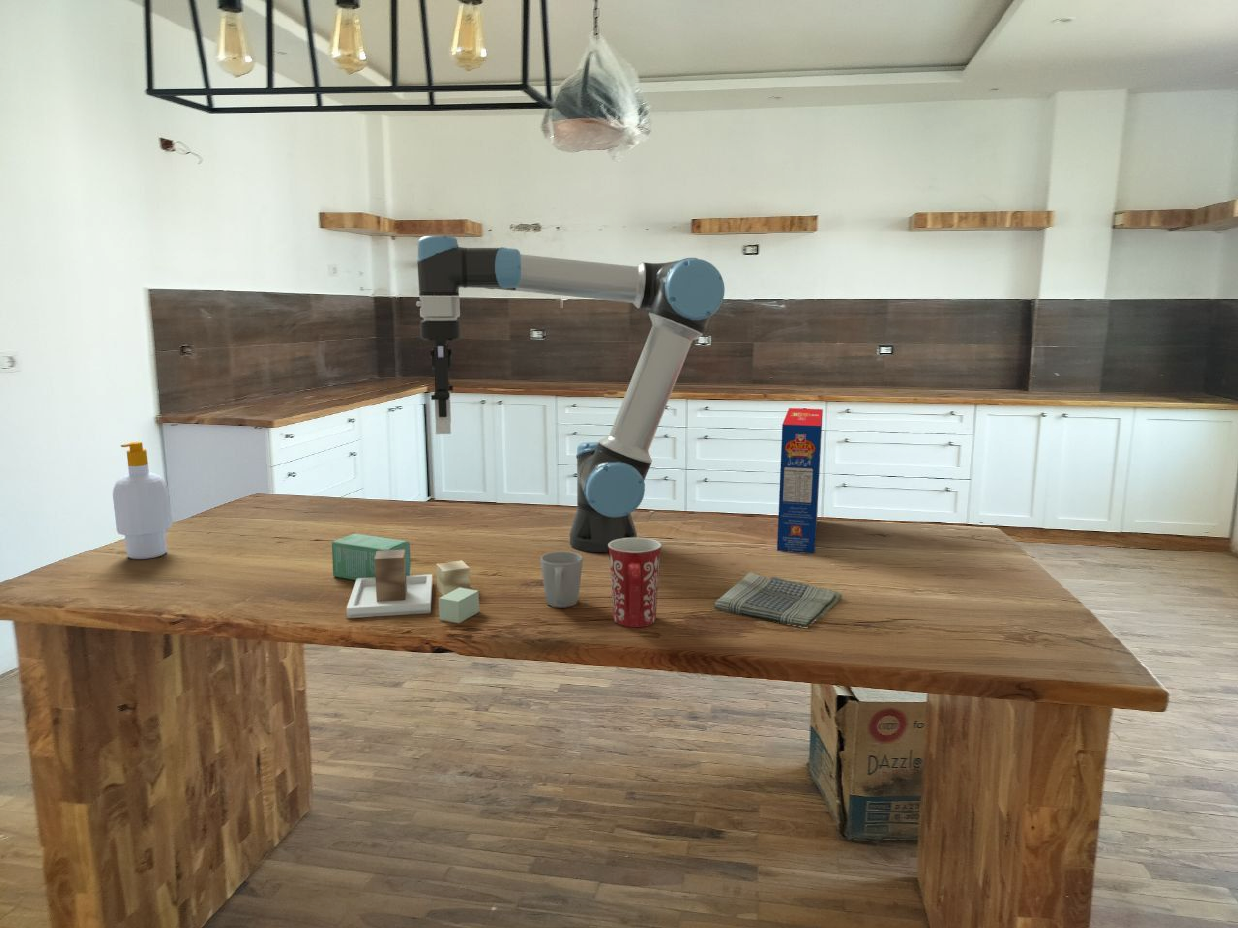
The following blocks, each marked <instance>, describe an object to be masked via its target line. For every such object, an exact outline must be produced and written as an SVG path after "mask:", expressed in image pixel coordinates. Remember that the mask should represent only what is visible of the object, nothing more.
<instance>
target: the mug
mask: <svg viewBox="0 0 1238 928" xmlns="http://www.w3.org/2000/svg"><path fill="white" fill-rule="evenodd" d="M662 547H663V546H662V544H661V542H660V541H658V540H655V539H651V538H645V537H637V538H622V539H617V540H614V541H611V542H610V543H609V544H608V548H609V552H608V553H609V564H610V565H609V568H610V580H611V581H610V582H611V584H610V585H611V597H612V616H613V621H614V623H616V624H618V625H619V626H623V627H627V628H640V627H648V626H650V625H653V624H654V622H656V617H657V616H656V615H657V603H658V591H659V589H658V588H659V587H658V586H659V585H658V584H659V575H660V574H659V573H660V572H659V571H660V562H661V561H660V558H661V557H660V556H661V549H662Z"/></svg>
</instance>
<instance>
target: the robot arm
mask: <svg viewBox="0 0 1238 928" xmlns="http://www.w3.org/2000/svg"><path fill="white" fill-rule="evenodd" d="M416 262H417V275H418V276H417V278H418V279H417V280H418V281H417V282H418V292H419V293H418V295H419V300H420V301H419V300H418V301H416V303H415V306H417V307H420V308H419V316H420V317H421V318H423V320H420V322H419V328H420V329H419V330H420V338H421V340H423V341H434V346H433V348H432V349H430V360H431V368H432V371H433V372H434V394H431V397H430V398H431V401H434V412H435V415H434V416H435V434H436V435H451V434H452V432H451V431H452V430H451V424H452V418H451V417H452V416H451V391H454V386H453V385H450V379H449V375H450V374H449V371H451V366H452V365H451V362H452V361H451V360H452V349H451V348H449V344H448V341H458V340H459V339H461V321H459V320H458V318H460V317H461V309H460V306H461V305H460V302H461V301H460V292H459V291H460V288H463V289H466V288H467V289H468V288H473V289H474V288H476V289H478V288H481V289H482V288H483V289H488V290H503V291H514V292H515V291H516V292H525V293H535V294H545V295H555V296H562V297H563V296H564V297H572V298H573V297H574V298H584V299H593V300H594V299H595V300H602V301H603V300H604V301H611V302H621V303H631V304H633V305H634V307H636V308H637V309H641V310H642V309H643V310H650V311H649V312H648V317H649V318H650V321H651V324H652V326H651V328H650V331H649V333H648V336H647V338H646V342H645V344H644V346H643V349H642V351H641V354H640V357H639V358H638V361H637V364H636V366H635V368H634V372H633V374H632V375H631V376H632V377H631V379H630V381H629V384H628V387H627V390H626V392H625V394H624V397H623V399H622V402H621V405H620V407H619V410H618V412H617V414H616V417H615V419H614V422H613V425H612V428H611V430H610V433H609V435H608V436H605V437H604V438H601V439H600V440H599V441H592V442H591V441H589V442H581V443H580V444H578V445H577V449H576V456H575V457H576V463H577V464H576V472H577V473H576V481H577V484H576V485H577V487H576V488H577V489H576V495H577V496H576V497H577V498H576V500H577V503H576V504H577V505H576V507H577V509H576V513H575V517H574V518H573V522H572V525H571V529H570V531H569V546H571V547H572V548H574V549H577V550H580V551H585V552H589V553H590V552H591V553H610V552H609V548H608V544H609V543H610V542H611V541H614V540H617V539H622V538H638V533H637V530H636V526H635V522H634V520H633V516H632V513H633V512H634V511H636V509H638V507H640V505H641V503H642V502H643V500H644V497H645V491H646V485H645V484H646V483H645V481H646V477H647V475H648V472H649V469H650V467H651V465H652V463H653V459H652V457H651V455H650V452H649V451H650V448H651V445H652V442H653V440H654V437H655V435H656V433H657V429H658V428H659V425H660V422H661V420H662V418H663V416H664V412H665V409H666V408H667V404H668V402H669V401H670V398H671V395H672V393H673V391H674V388H675V385H676V383H677V379H678V377H679V375H680V373H681V370H682V368H683V365H684V363H685V360H686V358H687V355H688V352H689V350H690V347H691V346H692V342H693V341H695V340H696V339H699V338H700V337H703V335H704V332H705V331H706V328H707V325H708V323H709V322H710V321H709V320H710V318H711V316H713V315H714V314H715V313H716V312H717V311H718V310H719V308H720V307H721V305H722V303H723V301H724V298H725V289H726V287H725V282H724V279H723V276H722V275H721V272H720V271H719V269H717V267H716V266H715V265H714V264H712V263H710V262H709V261H707V260H704V259H700V258H697V257H685V258H682V259H680V260H675V261H668V262H660V263H657V262H656V263H653V262H645V261H644V262H643V261H642V262H640V263H639V264H637V266H633V265H627V264H626V265H625V264H615V263H605V262H596V261H595V262H594V261H587V260H578V259H567V258H557V257H551V256H550V257H549V256H539V255H532V254H531V255H530V254H522V253H521V252H520V250H519V249H517V248H512V247H510V248H507V247H502V246H501V247H462V246H459V244H458V239H457V238H456V237H455V236H449V235H448V236H447V235H446V236H445V235H424V236H421V237H420V238H419V239H418V241H417V261H416Z"/></svg>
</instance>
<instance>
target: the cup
mask: <svg viewBox="0 0 1238 928" xmlns="http://www.w3.org/2000/svg"><path fill="white" fill-rule="evenodd" d="M583 559H584V557H583V556H582V555H581V554H580V553H578V552H573V551H552V552H548V553H544V554H543V555H541V557H540V565H541V575H542V576H541V577H542V582H543V589H544V594H545V595H544V596H545V601H546V604H547V605H548V606H550V607H553V608H561V609H563V608H564V609H565V608H566V609H567V608H572V607H573V606H575V605H577V603H578V601H579V595H580V590H581V589H580V586H581V581H582V572H583Z"/></svg>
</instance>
